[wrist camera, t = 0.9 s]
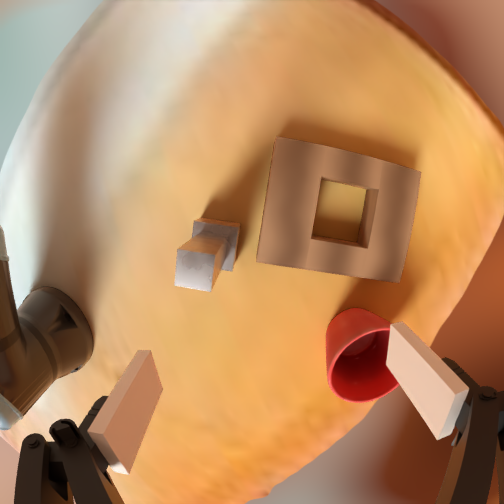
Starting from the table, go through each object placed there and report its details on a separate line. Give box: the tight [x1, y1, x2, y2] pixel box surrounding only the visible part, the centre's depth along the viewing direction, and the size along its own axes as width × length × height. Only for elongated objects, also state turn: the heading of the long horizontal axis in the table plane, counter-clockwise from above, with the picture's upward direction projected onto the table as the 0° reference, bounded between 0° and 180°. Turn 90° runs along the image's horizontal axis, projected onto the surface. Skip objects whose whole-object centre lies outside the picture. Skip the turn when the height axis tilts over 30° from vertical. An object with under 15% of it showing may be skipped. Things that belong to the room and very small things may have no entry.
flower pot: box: [326, 308, 400, 403], centre depth 34 cm, size 11×11×10 cm
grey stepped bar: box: [175, 218, 241, 292], centre depth 29 cm, size 5×5×14 cm
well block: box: [256, 136, 421, 283], centre depth 33 cm, size 18×14×4 cm
